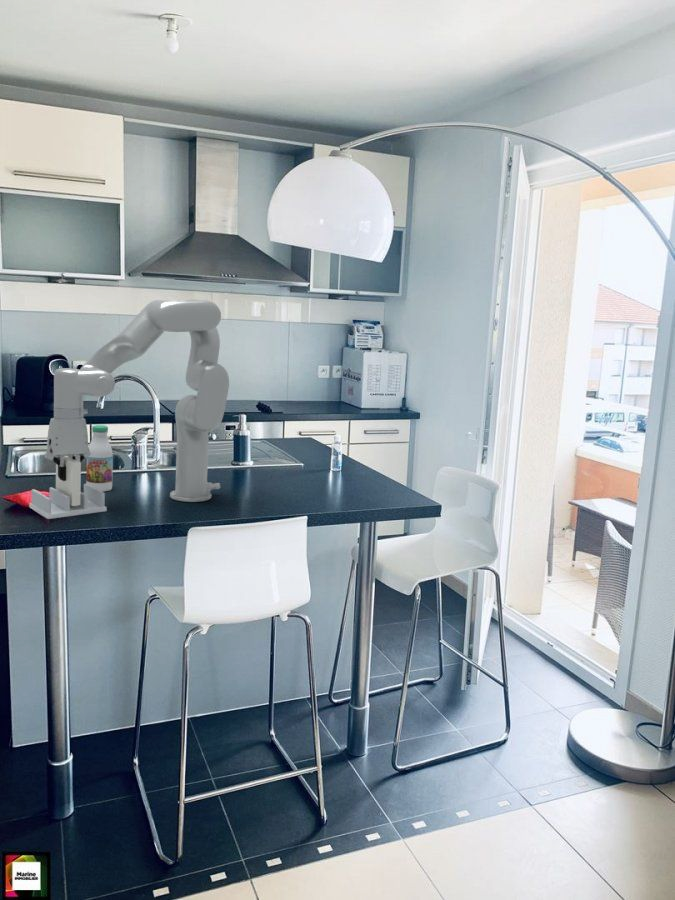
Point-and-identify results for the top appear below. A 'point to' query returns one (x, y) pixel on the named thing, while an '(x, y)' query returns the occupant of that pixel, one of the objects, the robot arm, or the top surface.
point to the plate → (70, 481)
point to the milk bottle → (100, 460)
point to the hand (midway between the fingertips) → (68, 478)
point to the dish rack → (67, 503)
